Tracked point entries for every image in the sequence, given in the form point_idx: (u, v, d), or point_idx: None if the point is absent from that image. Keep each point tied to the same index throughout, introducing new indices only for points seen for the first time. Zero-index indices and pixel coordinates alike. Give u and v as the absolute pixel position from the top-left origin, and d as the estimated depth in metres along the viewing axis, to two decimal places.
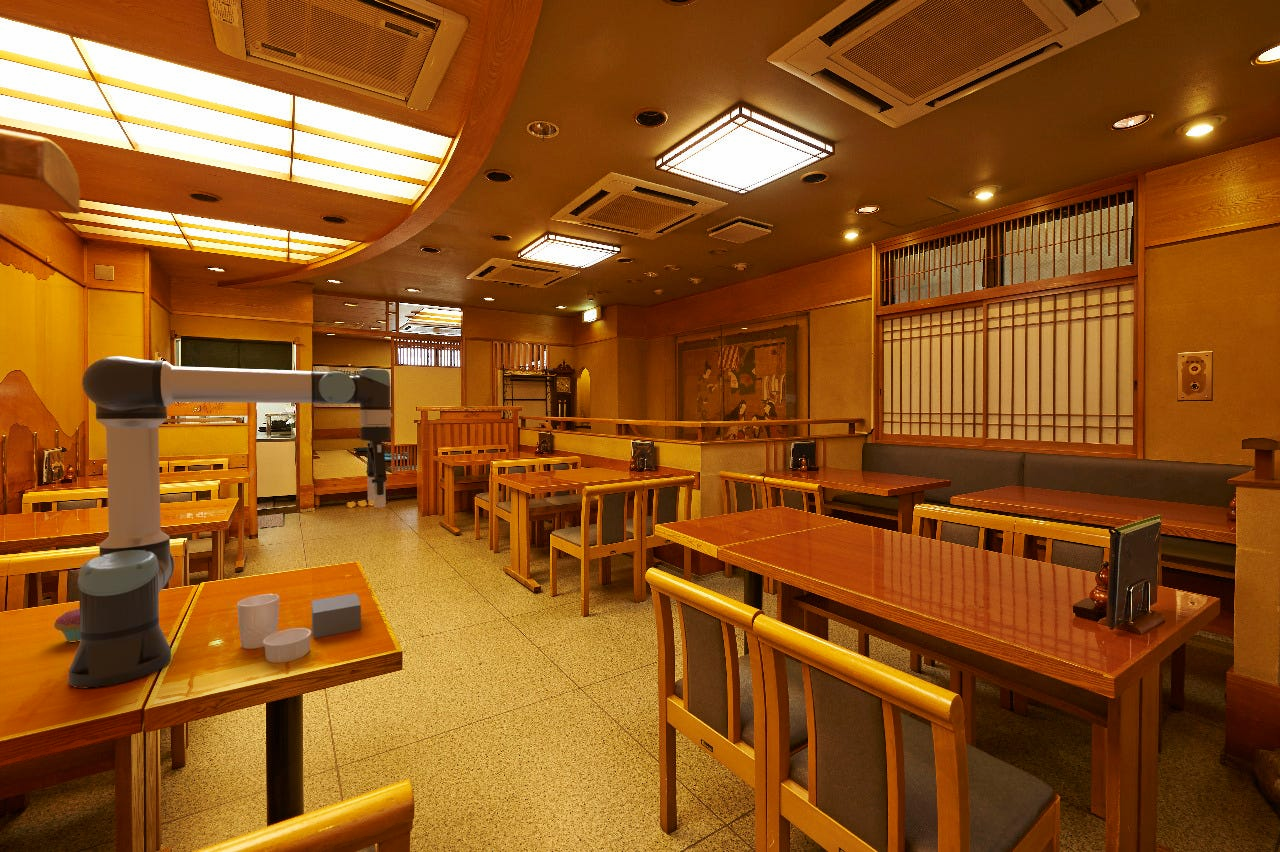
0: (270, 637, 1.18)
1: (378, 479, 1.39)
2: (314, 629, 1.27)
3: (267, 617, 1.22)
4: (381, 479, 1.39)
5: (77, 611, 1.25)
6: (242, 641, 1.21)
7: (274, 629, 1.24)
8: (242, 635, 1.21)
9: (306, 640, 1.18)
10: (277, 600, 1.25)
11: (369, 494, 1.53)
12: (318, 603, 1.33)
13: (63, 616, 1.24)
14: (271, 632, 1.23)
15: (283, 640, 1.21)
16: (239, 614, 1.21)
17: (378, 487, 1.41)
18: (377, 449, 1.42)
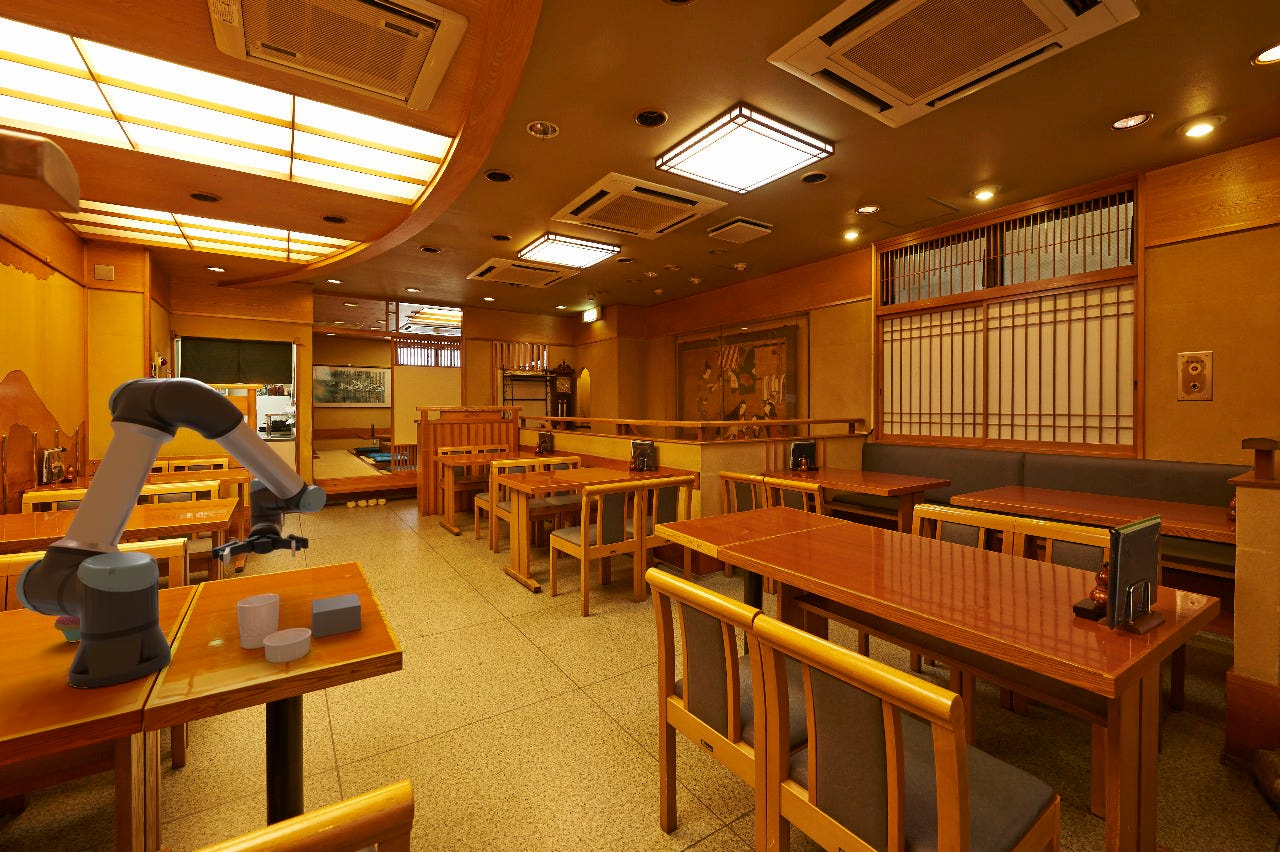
0: (270, 637, 1.18)
1: None
2: (314, 629, 1.27)
3: (267, 617, 1.22)
4: None
5: None
6: (242, 641, 1.21)
7: (274, 629, 1.24)
8: (242, 635, 1.21)
9: (306, 640, 1.18)
10: (277, 600, 1.25)
11: (228, 553, 1.30)
12: (318, 603, 1.33)
13: (63, 616, 1.24)
14: (271, 632, 1.23)
15: (283, 640, 1.21)
16: (239, 614, 1.21)
17: None
18: None
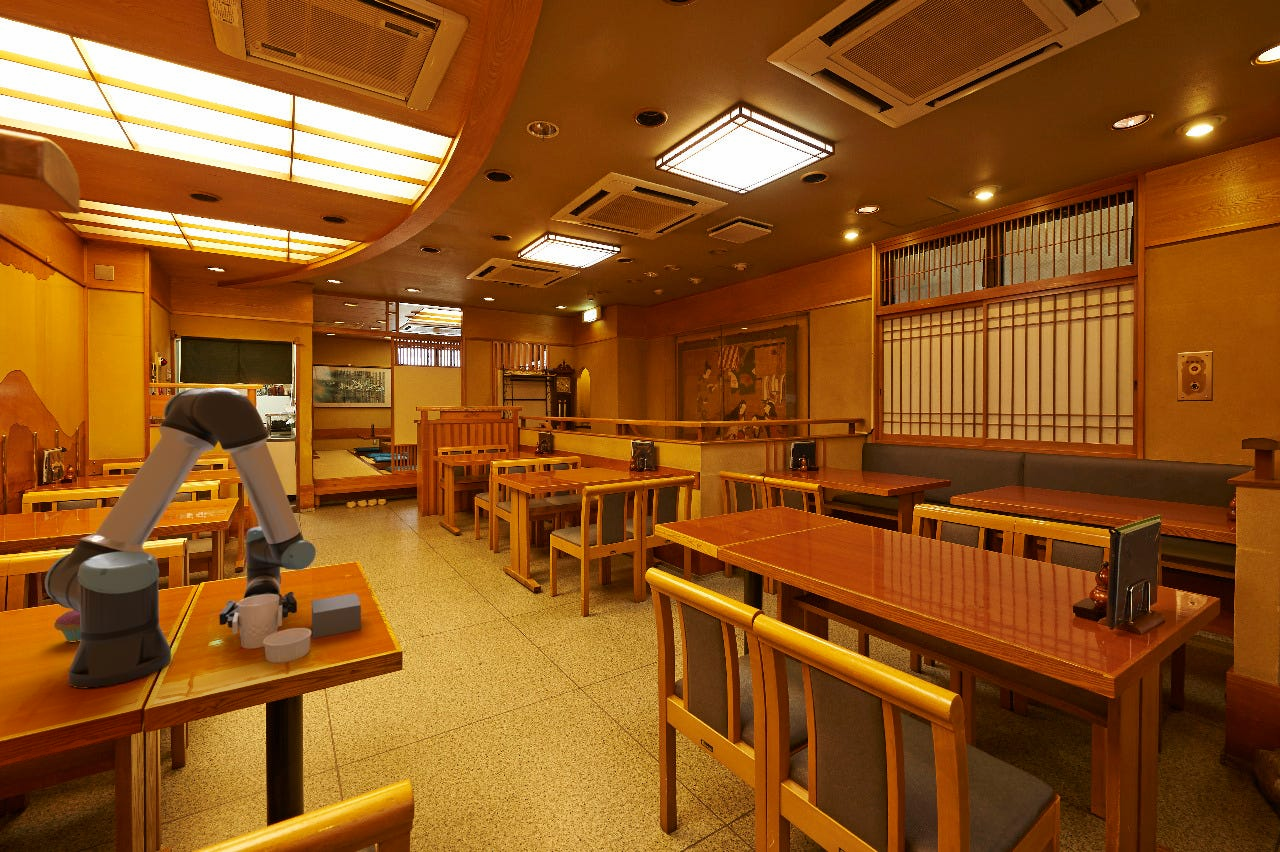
0: (270, 637, 1.18)
1: (296, 604, 1.30)
2: (314, 629, 1.27)
3: (267, 617, 1.22)
4: (296, 607, 1.30)
5: (77, 611, 1.25)
6: (242, 641, 1.21)
7: (274, 629, 1.24)
8: (242, 635, 1.21)
9: (306, 640, 1.18)
10: (277, 600, 1.25)
11: (237, 620, 1.19)
12: (318, 603, 1.33)
13: (63, 616, 1.24)
14: (271, 632, 1.23)
15: (283, 640, 1.21)
16: (239, 614, 1.21)
17: (287, 609, 1.28)
18: (292, 596, 1.37)
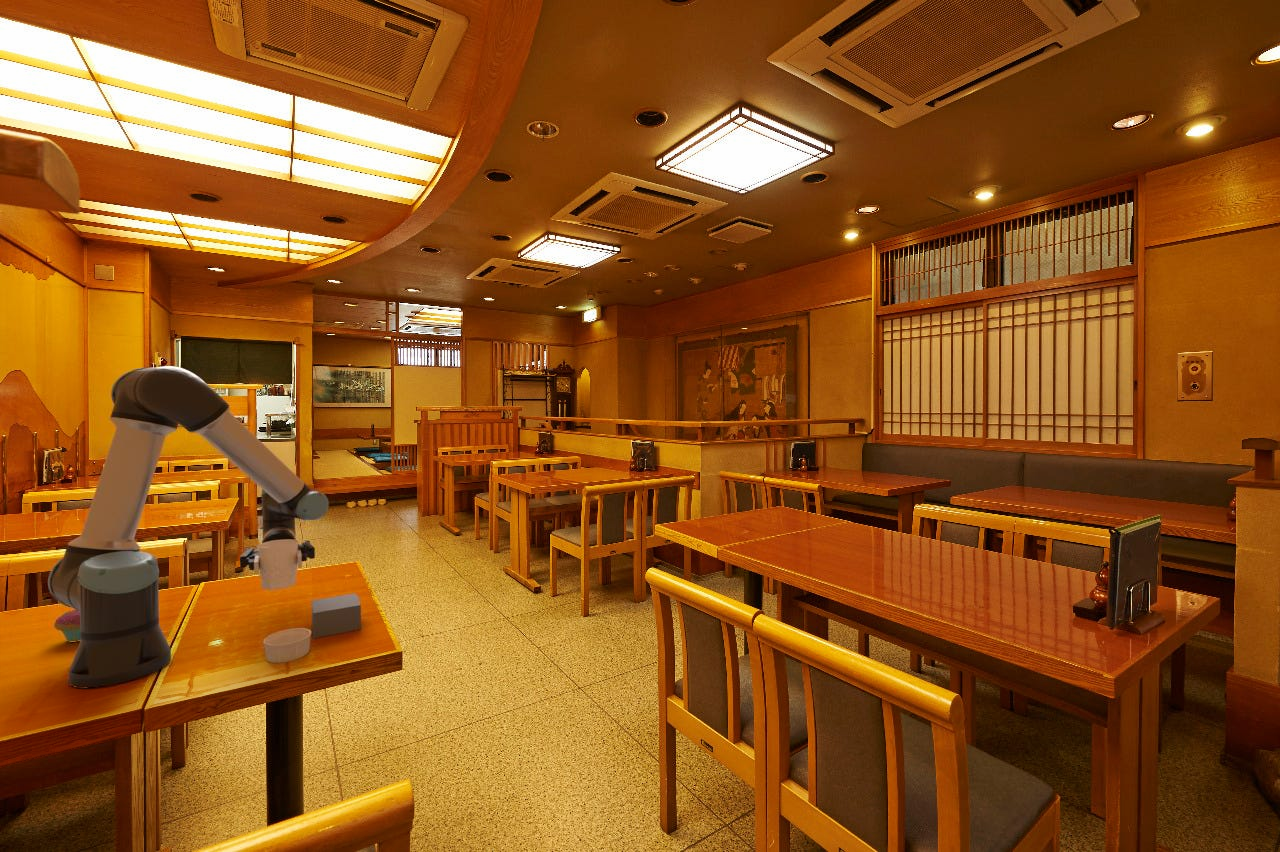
0: (270, 637, 1.18)
1: (314, 550, 1.33)
2: (314, 629, 1.27)
3: (287, 559, 1.25)
4: (314, 553, 1.33)
5: (77, 611, 1.25)
6: (263, 583, 1.24)
7: (294, 572, 1.27)
8: (263, 576, 1.23)
9: (306, 640, 1.18)
10: (296, 544, 1.27)
11: (258, 561, 1.22)
12: (318, 603, 1.33)
13: (63, 616, 1.24)
14: (291, 574, 1.26)
15: (283, 640, 1.21)
16: (260, 556, 1.23)
17: None
18: None
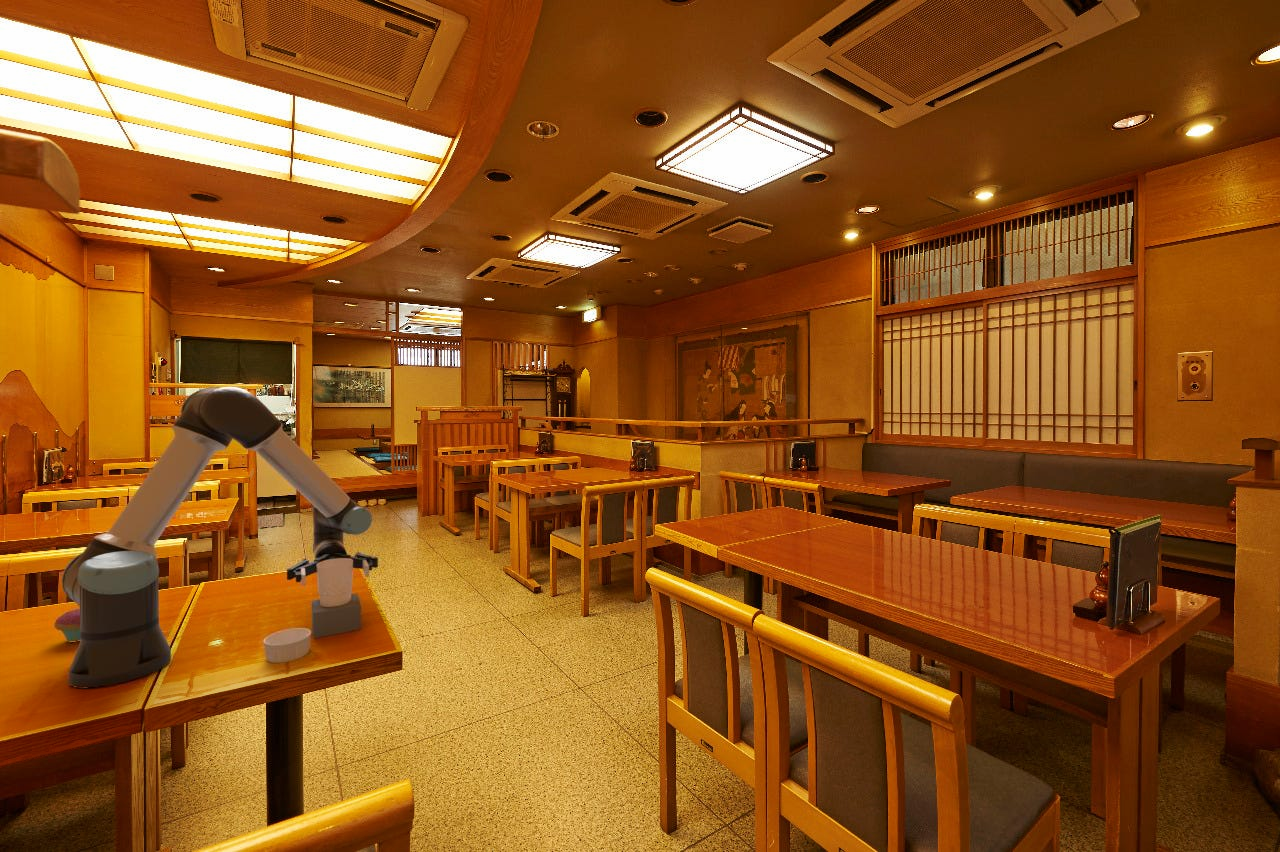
0: (270, 637, 1.18)
1: (377, 559, 1.42)
2: (314, 629, 1.27)
3: (344, 578, 1.31)
4: (377, 562, 1.42)
5: (77, 611, 1.25)
6: (321, 600, 1.30)
7: (349, 590, 1.33)
8: (321, 594, 1.30)
9: (306, 640, 1.18)
10: (352, 563, 1.34)
11: (305, 574, 1.28)
12: (318, 603, 1.33)
13: (63, 616, 1.24)
14: (347, 592, 1.33)
15: (283, 640, 1.21)
16: (319, 575, 1.30)
17: None
18: None
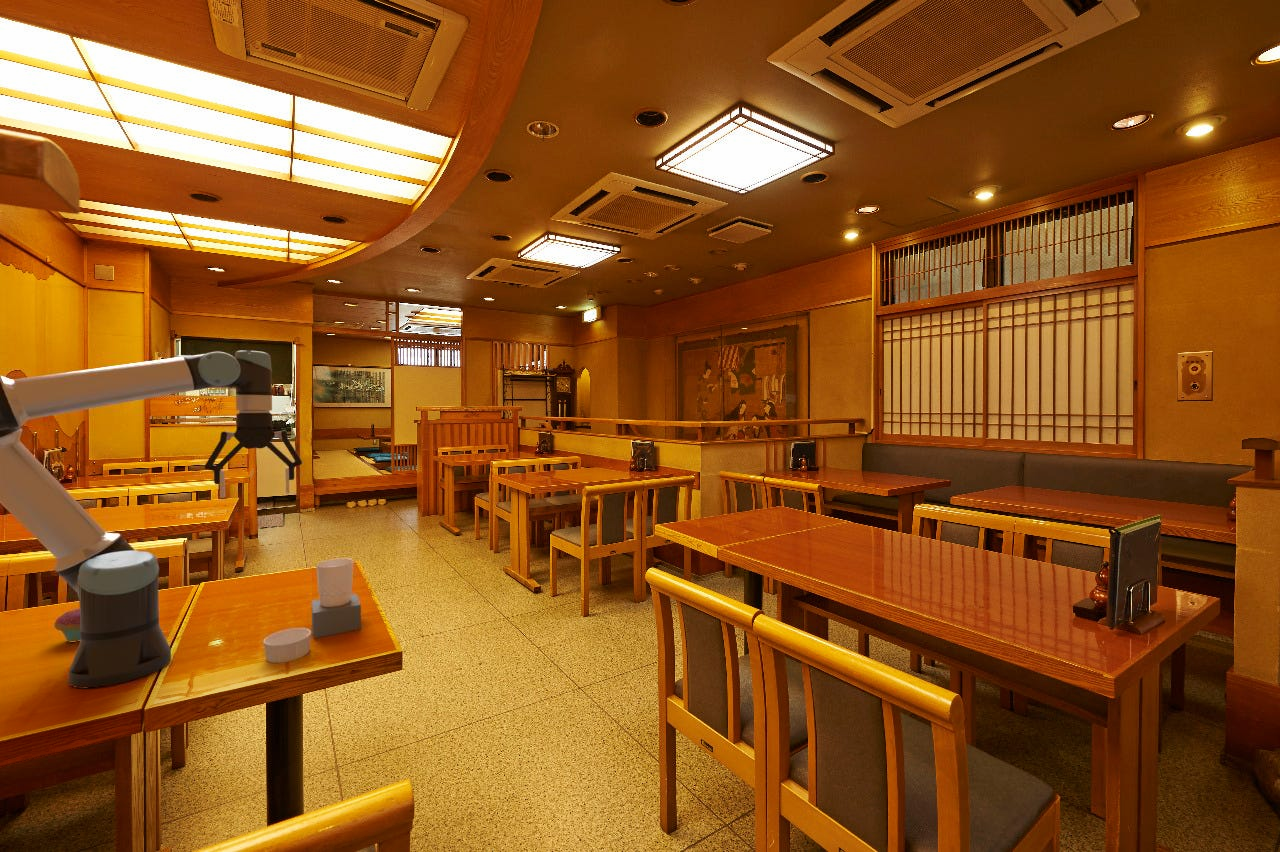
0: (270, 637, 1.18)
1: (301, 463, 1.44)
2: (314, 629, 1.27)
3: (344, 578, 1.31)
4: None
5: (77, 611, 1.25)
6: (321, 600, 1.30)
7: (349, 590, 1.33)
8: (321, 594, 1.30)
9: (306, 640, 1.18)
10: (352, 563, 1.34)
11: (224, 490, 1.34)
12: (318, 603, 1.33)
13: (63, 616, 1.24)
14: (347, 592, 1.33)
15: (283, 640, 1.21)
16: (319, 575, 1.30)
17: (293, 472, 1.43)
18: None
